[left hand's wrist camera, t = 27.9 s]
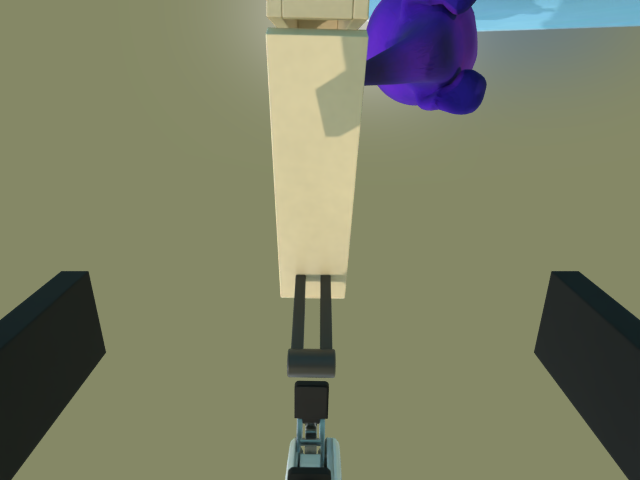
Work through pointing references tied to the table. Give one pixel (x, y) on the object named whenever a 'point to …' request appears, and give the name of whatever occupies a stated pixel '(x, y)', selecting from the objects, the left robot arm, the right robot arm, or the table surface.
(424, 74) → the toy
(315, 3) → the cream suitcase
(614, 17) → the table surface
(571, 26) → the table surface
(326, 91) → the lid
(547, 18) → the table surface
